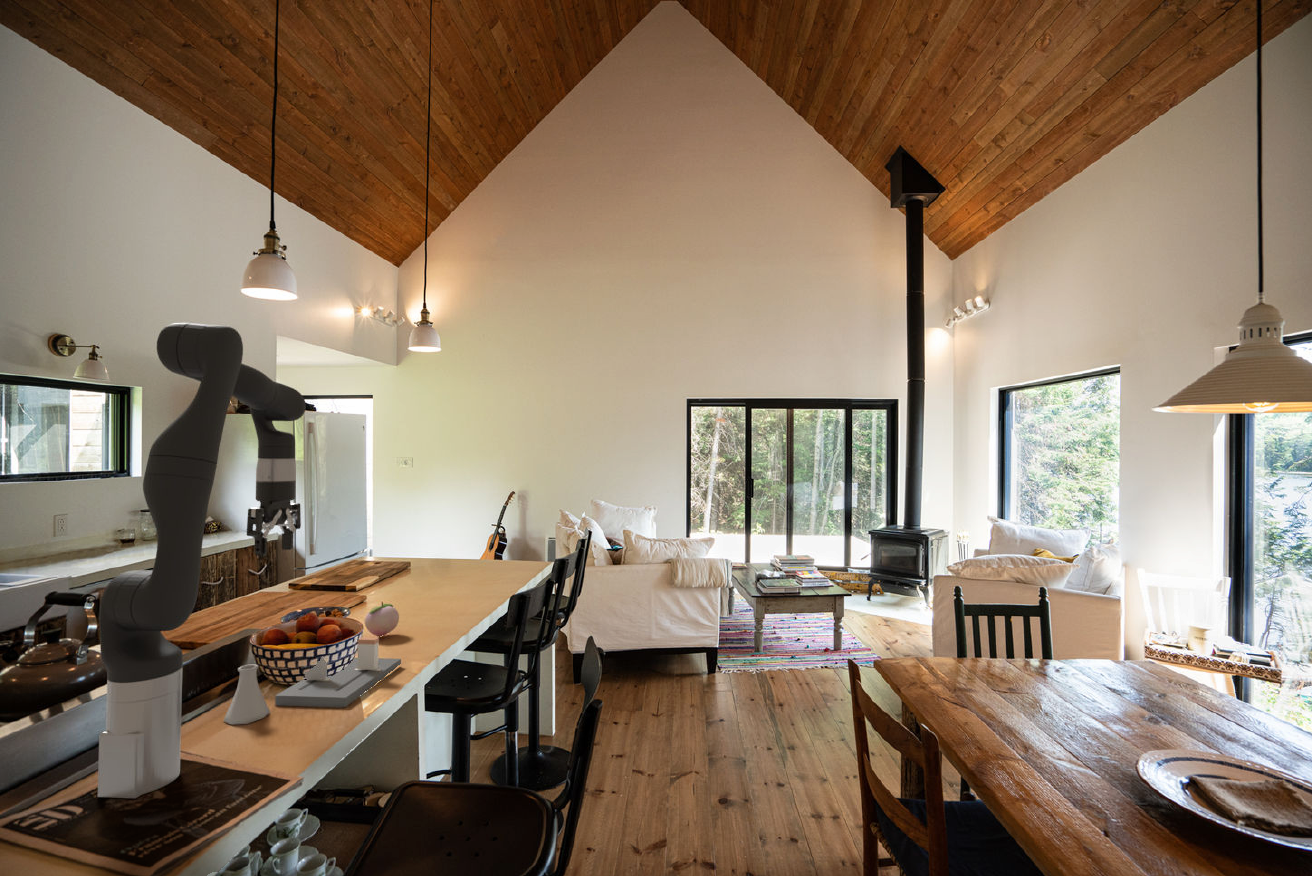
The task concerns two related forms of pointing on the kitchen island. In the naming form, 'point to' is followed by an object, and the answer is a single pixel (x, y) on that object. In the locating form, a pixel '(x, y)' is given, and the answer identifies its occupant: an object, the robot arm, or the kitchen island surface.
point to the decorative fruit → (382, 619)
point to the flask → (247, 698)
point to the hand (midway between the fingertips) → (274, 552)
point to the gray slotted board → (336, 686)
